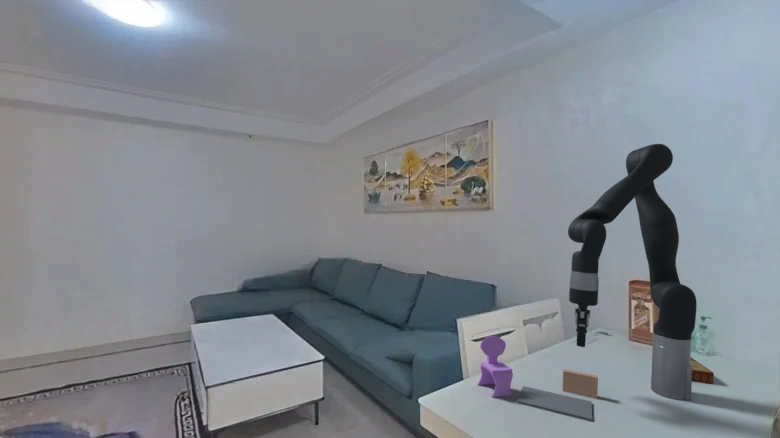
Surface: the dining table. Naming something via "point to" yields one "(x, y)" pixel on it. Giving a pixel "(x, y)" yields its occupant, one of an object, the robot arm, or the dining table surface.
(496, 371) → the toy chair
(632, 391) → the dining table surface
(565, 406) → the mat
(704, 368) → the carton
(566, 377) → the block
